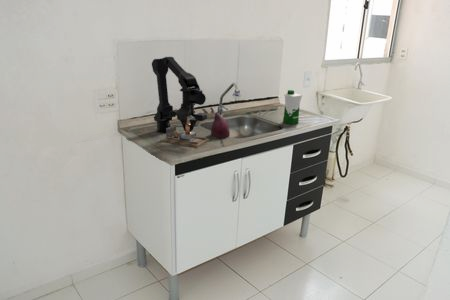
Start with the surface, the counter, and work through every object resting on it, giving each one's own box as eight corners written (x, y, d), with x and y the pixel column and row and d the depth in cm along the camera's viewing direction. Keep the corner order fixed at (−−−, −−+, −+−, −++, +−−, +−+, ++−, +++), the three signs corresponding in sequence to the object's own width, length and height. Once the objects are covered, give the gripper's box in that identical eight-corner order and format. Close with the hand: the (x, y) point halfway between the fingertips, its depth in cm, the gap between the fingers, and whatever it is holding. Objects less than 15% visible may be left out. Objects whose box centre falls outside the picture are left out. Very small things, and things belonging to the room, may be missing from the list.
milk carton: (289, 120, 237) (292, 89, 231) (300, 123, 231) (304, 91, 224) (280, 122, 232) (283, 90, 225) (291, 125, 225) (294, 93, 219)
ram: (179, 139, 186) (179, 124, 184) (185, 136, 192) (185, 121, 189) (190, 141, 184) (190, 126, 181) (196, 138, 189) (196, 123, 186)
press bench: (163, 141, 187) (163, 129, 185) (176, 135, 198) (175, 124, 195) (198, 147, 180) (198, 135, 178) (208, 141, 190) (209, 129, 188)
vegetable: (214, 144, 196) (209, 119, 188) (209, 136, 204) (204, 112, 197) (232, 138, 197) (228, 114, 190) (227, 131, 206) (222, 107, 198)
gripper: (163, 102, 178) (164, 132, 183) (197, 106, 171) (196, 138, 176) (175, 98, 187) (175, 127, 193) (207, 102, 180) (207, 132, 186)
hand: (188, 131), depth 186 cm, fingers closed on ram, 3 cm apart
